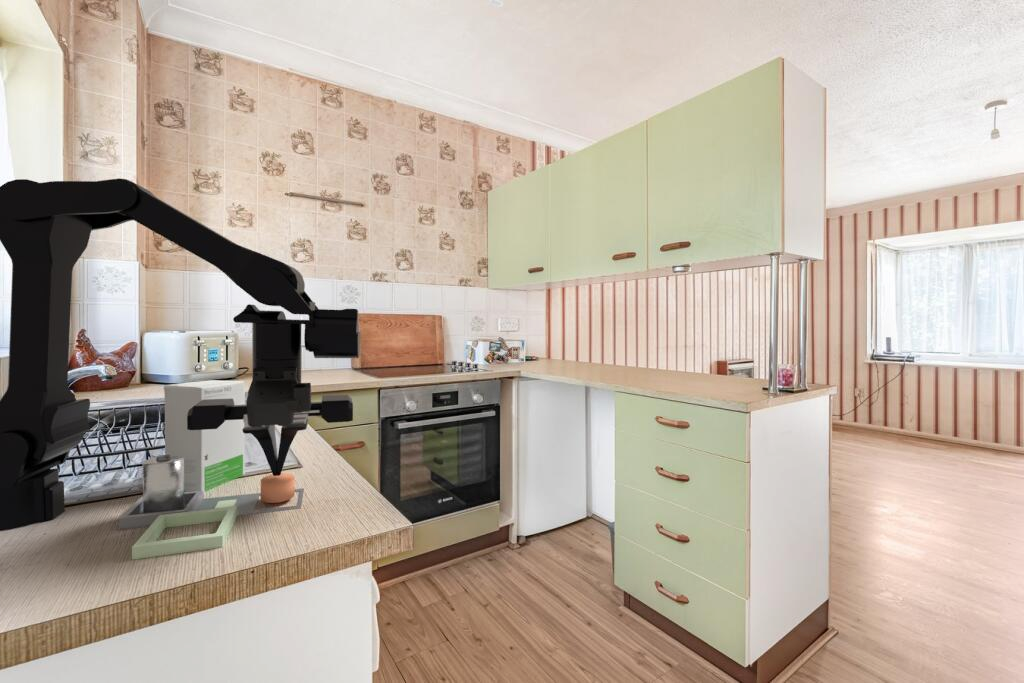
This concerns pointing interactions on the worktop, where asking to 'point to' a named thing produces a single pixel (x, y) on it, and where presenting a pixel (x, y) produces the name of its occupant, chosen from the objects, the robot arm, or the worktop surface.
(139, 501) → the checker plate
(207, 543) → the pale green square tray
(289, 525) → the worktop surface
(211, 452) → the skincare box
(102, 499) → the worktop surface
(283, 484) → the cylinder
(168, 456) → the cell
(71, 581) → the worktop surface
